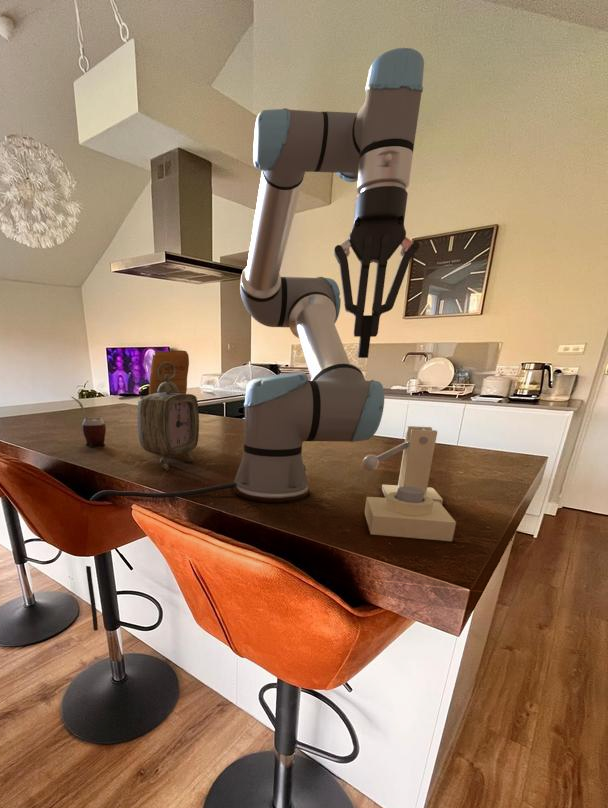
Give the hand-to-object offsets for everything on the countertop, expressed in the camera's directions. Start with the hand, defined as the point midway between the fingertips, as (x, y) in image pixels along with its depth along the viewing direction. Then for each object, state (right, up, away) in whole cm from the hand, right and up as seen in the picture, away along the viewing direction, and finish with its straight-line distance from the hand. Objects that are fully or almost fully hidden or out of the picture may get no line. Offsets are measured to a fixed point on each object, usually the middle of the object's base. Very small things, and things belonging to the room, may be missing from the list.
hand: (362, 357), depth 72 cm
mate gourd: (-64, -6, +59) cm, 88 cm away
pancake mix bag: (-40, -7, +57) cm, 71 cm away
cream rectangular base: (+6, -29, -2) cm, 30 cm away
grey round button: (+6, -25, -3) cm, 26 cm away
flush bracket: (+14, -23, +13) cm, 30 cm away
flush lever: (+11, -16, +11) cm, 22 cm away
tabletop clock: (-38, -14, +37) cm, 55 cm away
